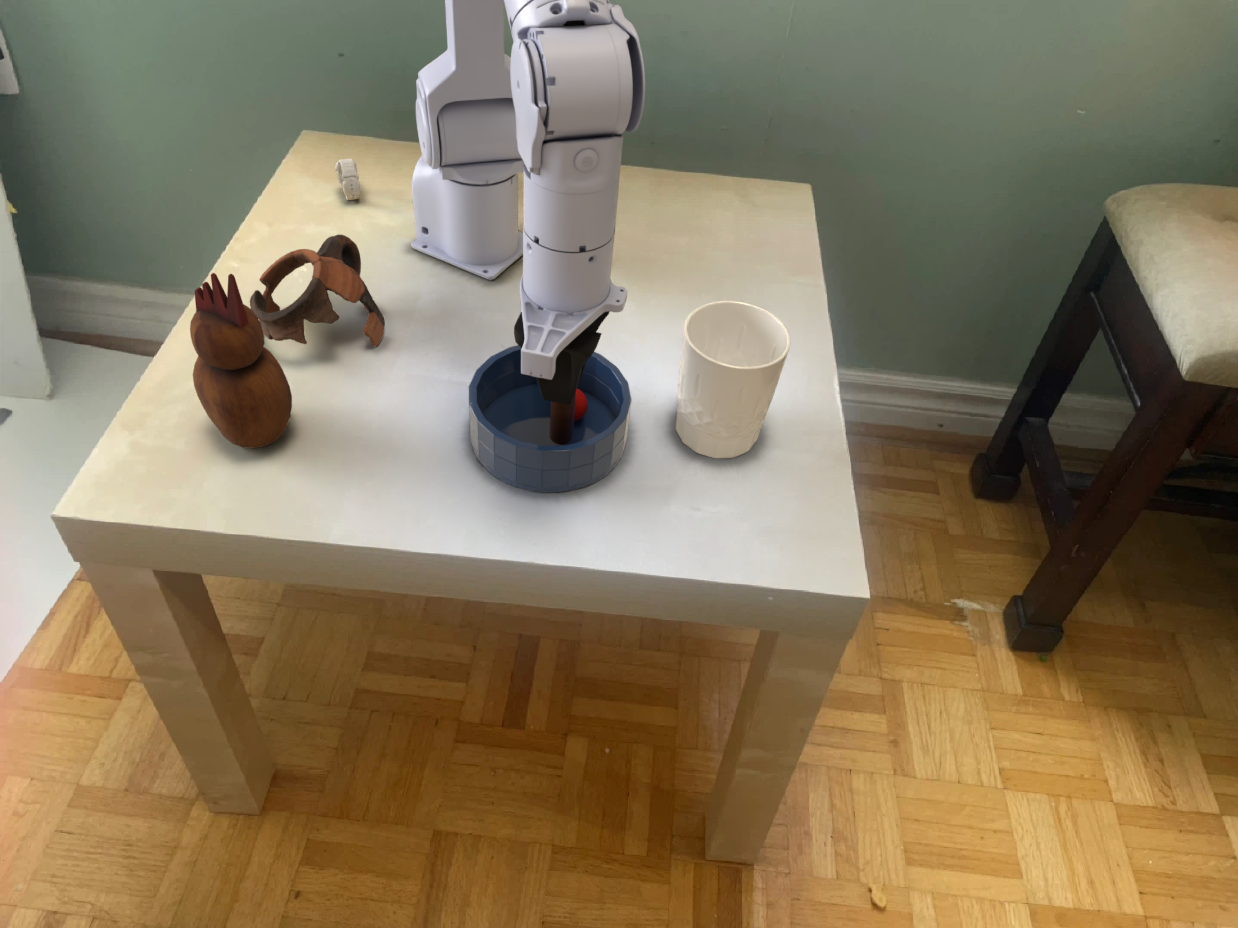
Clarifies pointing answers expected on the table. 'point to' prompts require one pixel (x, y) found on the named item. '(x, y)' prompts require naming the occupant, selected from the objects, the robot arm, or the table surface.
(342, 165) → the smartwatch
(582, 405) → the red ball
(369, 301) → the brown curved pieces
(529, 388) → the bowl
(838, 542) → the table surface
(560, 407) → the stick
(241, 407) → the wooden figurine
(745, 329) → the white cup
